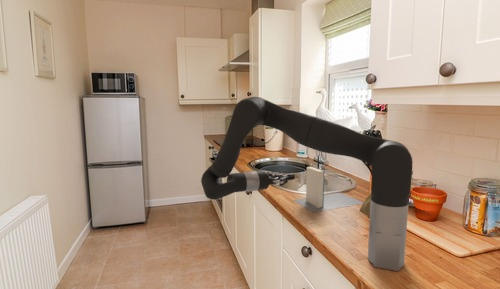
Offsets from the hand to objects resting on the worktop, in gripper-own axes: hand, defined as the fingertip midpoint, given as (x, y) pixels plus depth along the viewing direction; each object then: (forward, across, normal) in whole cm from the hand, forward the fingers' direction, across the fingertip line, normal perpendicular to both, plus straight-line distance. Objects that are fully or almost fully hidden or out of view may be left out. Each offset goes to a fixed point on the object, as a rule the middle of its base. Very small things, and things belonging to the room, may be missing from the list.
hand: (293, 176), depth 120 cm
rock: (+24, -20, +14) cm, 34 cm away
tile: (+10, 0, +13) cm, 17 cm away
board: (+17, 0, +14) cm, 22 cm away
